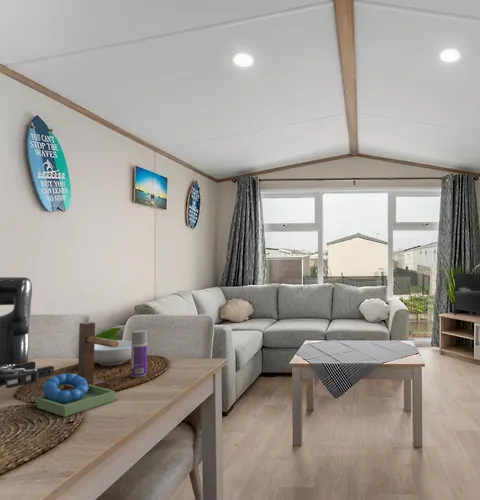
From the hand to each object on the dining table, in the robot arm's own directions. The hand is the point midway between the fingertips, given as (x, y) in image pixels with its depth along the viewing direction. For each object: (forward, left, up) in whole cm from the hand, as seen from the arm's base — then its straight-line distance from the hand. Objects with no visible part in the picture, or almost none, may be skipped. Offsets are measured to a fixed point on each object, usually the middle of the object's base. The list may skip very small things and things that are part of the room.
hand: (43, 367), depth 101 cm
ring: (-5, +8, -8) cm, 13 cm away
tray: (0, +8, -12) cm, 15 cm away
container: (-9, +33, -12) cm, 37 cm away
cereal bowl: (-31, +38, -12) cm, 51 cm away
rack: (-7, +17, -12) cm, 22 cm away
